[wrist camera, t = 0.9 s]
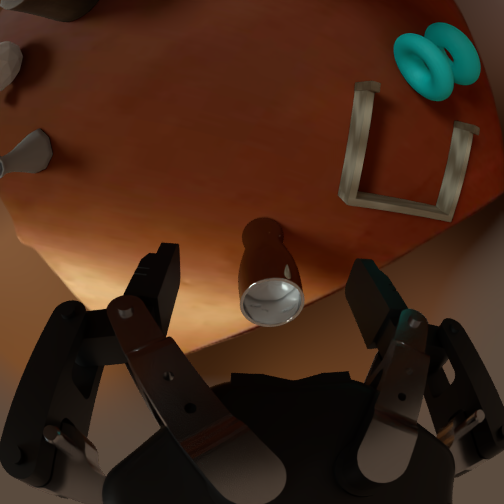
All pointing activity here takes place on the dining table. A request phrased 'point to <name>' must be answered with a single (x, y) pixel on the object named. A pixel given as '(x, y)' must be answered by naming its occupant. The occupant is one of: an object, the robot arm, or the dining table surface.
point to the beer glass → (268, 276)
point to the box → (368, 200)
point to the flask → (28, 155)
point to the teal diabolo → (437, 60)
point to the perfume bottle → (9, 63)
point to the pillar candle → (51, 8)
